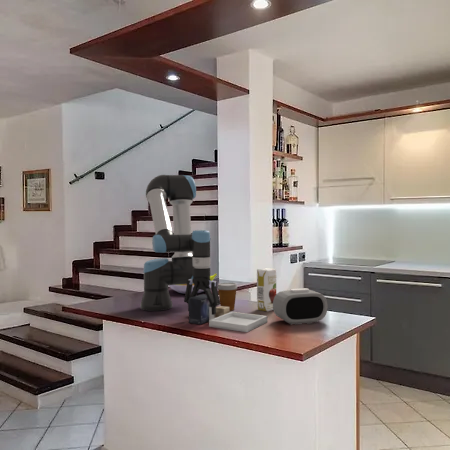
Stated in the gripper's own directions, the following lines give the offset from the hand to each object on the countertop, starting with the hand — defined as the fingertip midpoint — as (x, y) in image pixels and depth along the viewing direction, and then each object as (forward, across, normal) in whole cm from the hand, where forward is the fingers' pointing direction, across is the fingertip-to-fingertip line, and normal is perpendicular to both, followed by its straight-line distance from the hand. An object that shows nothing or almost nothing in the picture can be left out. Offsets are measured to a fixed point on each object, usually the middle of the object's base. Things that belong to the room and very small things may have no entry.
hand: (201, 320), depth 184 cm
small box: (+1, 0, 0) cm, 1 cm away
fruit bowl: (0, -43, +55) cm, 70 cm away
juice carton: (0, +14, +34) cm, 36 cm away
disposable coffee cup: (0, -2, +25) cm, 25 cm away
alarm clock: (+1, +36, +20) cm, 41 cm away
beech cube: (0, +4, +10) cm, 11 cm away
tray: (0, +16, +3) cm, 16 cm away
